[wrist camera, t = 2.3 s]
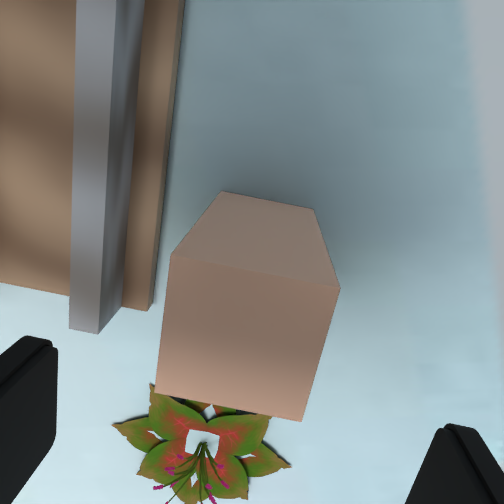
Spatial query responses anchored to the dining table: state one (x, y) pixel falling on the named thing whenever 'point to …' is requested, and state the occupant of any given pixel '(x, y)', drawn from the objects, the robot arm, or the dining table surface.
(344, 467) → the dining table surface
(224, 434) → the lily flower
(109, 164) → the cleat board
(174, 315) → the terracotta block
